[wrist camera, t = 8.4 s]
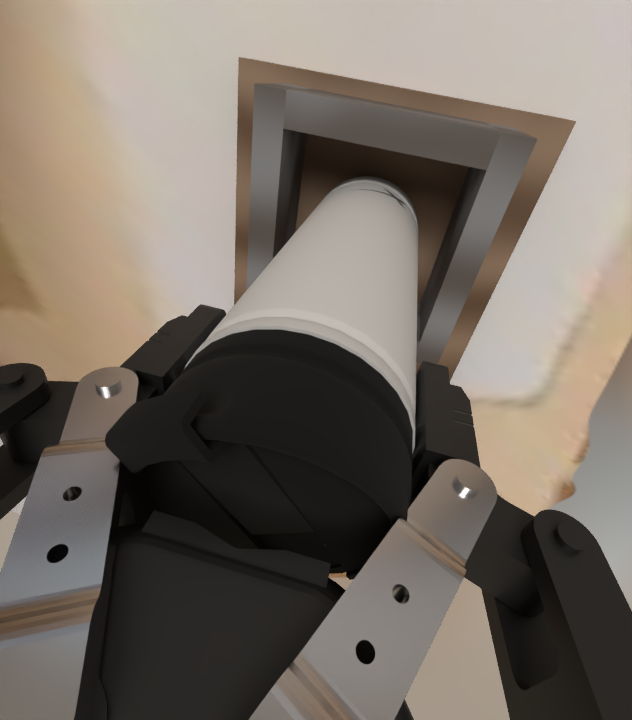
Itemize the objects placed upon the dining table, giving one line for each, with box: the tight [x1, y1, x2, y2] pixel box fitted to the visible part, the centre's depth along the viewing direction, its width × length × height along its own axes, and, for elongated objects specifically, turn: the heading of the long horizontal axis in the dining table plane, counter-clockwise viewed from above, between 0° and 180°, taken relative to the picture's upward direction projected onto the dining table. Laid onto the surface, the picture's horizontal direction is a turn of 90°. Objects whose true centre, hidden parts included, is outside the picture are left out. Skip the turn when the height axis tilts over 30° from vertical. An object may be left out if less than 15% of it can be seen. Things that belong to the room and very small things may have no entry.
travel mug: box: [105, 176, 418, 580], centre depth 15 cm, size 6×7×20 cm
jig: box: [234, 57, 576, 380], centre depth 24 cm, size 22×18×8 cm
